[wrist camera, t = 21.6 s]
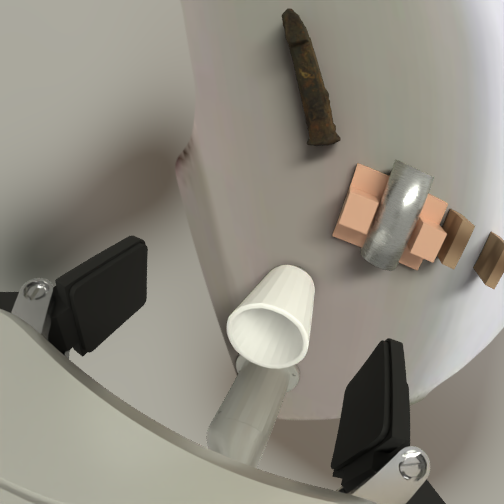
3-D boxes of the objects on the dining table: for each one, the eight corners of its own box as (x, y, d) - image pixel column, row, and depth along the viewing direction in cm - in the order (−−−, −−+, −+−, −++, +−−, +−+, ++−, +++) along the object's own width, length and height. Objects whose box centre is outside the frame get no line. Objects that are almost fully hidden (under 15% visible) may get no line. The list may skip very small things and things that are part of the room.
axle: (392, 257, 34) (398, 275, 29) (359, 244, 35) (361, 261, 30) (427, 173, 28) (439, 180, 24) (391, 157, 29) (400, 161, 25)
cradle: (416, 267, 34) (422, 282, 30) (332, 233, 36) (330, 246, 32) (445, 202, 29) (456, 211, 25) (357, 162, 32) (358, 166, 28)
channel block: (482, 272, 30) (494, 289, 26) (432, 247, 32) (442, 263, 28) (499, 236, 27) (514, 250, 23) (450, 208, 29) (463, 219, 25)
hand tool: (341, 143, 32) (340, 144, 28) (310, 146, 33) (304, 147, 29) (313, 12, 25) (308, -2, 21) (284, 17, 26) (275, 3, 22)
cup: (255, 254, 42) (218, 299, 31) (322, 255, 38) (307, 306, 27) (263, 310, 45) (233, 363, 34) (323, 314, 42) (308, 373, 31)
